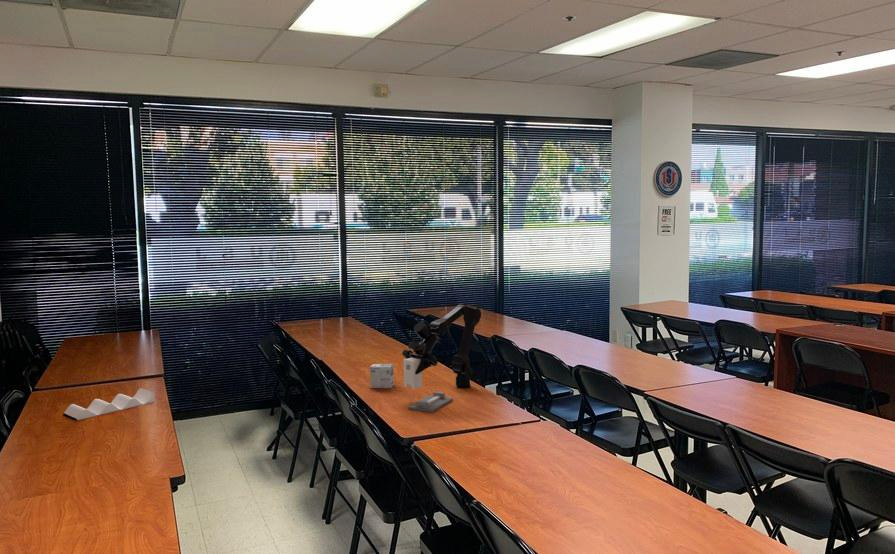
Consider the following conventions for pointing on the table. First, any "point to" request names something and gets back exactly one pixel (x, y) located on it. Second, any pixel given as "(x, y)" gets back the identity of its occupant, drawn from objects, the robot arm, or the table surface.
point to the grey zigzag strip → (109, 405)
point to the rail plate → (431, 402)
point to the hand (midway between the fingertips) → (410, 372)
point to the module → (412, 373)
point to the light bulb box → (381, 376)
